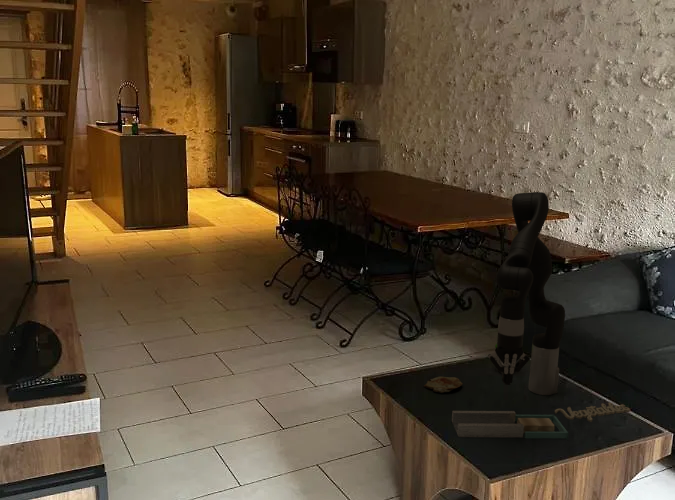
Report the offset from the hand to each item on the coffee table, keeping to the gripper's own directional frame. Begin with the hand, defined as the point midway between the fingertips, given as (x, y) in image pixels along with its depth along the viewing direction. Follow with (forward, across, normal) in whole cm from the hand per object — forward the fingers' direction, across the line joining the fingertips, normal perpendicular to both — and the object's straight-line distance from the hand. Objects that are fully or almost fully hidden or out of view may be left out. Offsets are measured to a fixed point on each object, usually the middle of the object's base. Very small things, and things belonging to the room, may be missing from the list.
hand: (506, 383), depth 202 cm
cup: (+17, -14, -48) cm, 53 cm away
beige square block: (+16, -8, 0) cm, 17 cm away
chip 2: (+16, -13, 0) cm, 20 cm away
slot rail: (+16, +5, 0) cm, 17 cm away
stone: (+17, +12, -32) cm, 38 cm away
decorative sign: (+17, -35, -13) cm, 41 cm away
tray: (+16, -12, 0) cm, 20 cm away
